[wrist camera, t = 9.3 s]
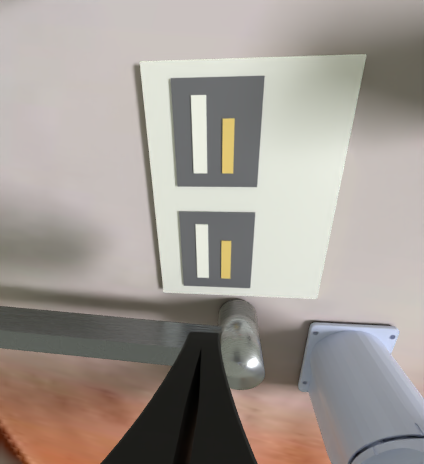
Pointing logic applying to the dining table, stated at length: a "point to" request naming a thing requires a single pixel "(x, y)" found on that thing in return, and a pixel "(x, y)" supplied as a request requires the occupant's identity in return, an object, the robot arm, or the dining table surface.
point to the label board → (248, 169)
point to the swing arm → (137, 338)
